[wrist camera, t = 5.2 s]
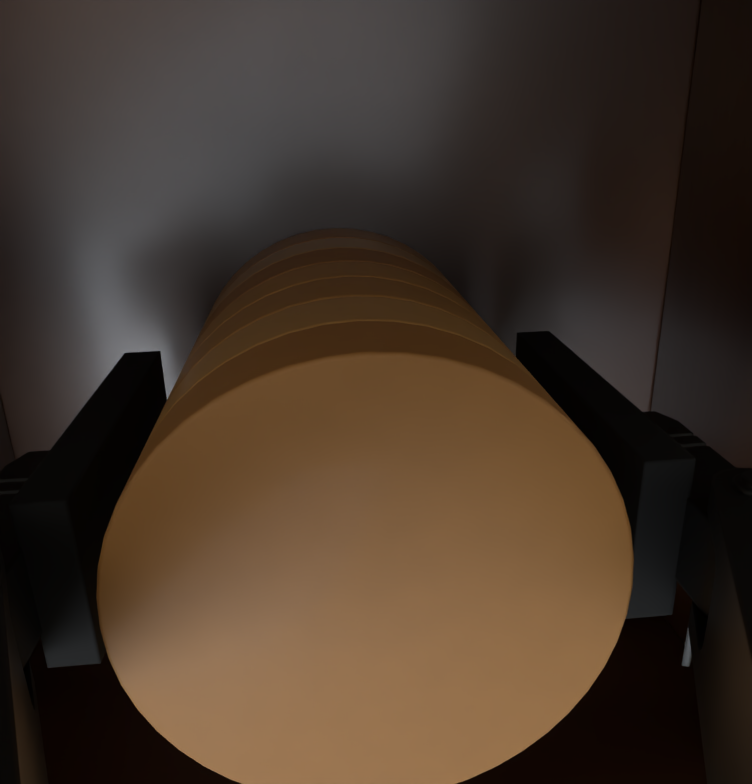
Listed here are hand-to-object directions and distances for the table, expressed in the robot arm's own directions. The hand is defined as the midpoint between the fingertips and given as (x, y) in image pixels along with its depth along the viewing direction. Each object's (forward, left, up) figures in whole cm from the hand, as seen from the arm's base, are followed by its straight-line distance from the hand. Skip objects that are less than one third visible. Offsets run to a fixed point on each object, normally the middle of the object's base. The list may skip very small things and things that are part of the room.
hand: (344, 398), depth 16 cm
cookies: (0, 0, -2) cm, 2 cm away
